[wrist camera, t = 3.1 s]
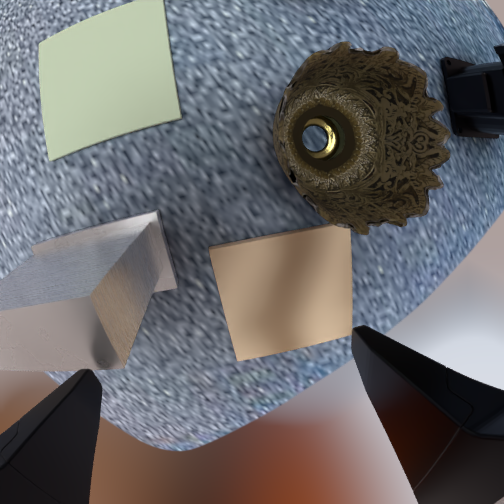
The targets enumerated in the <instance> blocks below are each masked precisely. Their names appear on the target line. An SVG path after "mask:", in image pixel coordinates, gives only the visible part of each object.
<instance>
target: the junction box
mask: <svg viewBox="0 0 504 504" xmlns="http://www.w3.org/2000/svg"><path fill="white" fill-rule="evenodd" d="M31 248H32V251H33V254H34V255H33V256H31V257H30V258H29V259H27V260H26V261H25V262H23V263H22V264H21V265H19V266H18V267H17V268H15V269H14V270H13V271H11V272H10V273H9V274H8V275H6V276H5V277H4V278H3V279H1V280H0V370H14V371H79V370H80V369H91V370H107V369H121V368H125V365H126V362H127V359H128V357H129V354H130V351H131V348H132V346H133V343H134V340H135V337H136V335H137V332H138V329H139V327H140V324H141V322H142V319H143V317H144V314H145V311H146V309H147V306H148V304H149V301H150V299H151V297H152V294H153V293H154V292H159V291H165V290H170V289H176V288H178V284H179V281H178V278H177V274H176V271H175V268H174V264H173V261H172V257H171V254H170V250H169V246H168V243H167V239H166V235H165V231H164V228H163V224H162V220H161V216H160V212H159V209H157V210H153V211H148V212H144V213H140V214H136V215H132V216H128V217H125V218H121V219H117V220H113V221H109V222H106V223H102V224H98V225H95V226H91V227H88V228H84V229H81V230H77V231H74V232H70V233H67V234H64V235H60V236H57V237H54V238H51V239H48V240H44V241H41V242H38V243H36V244H34V245H33V246H31Z"/></svg>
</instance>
